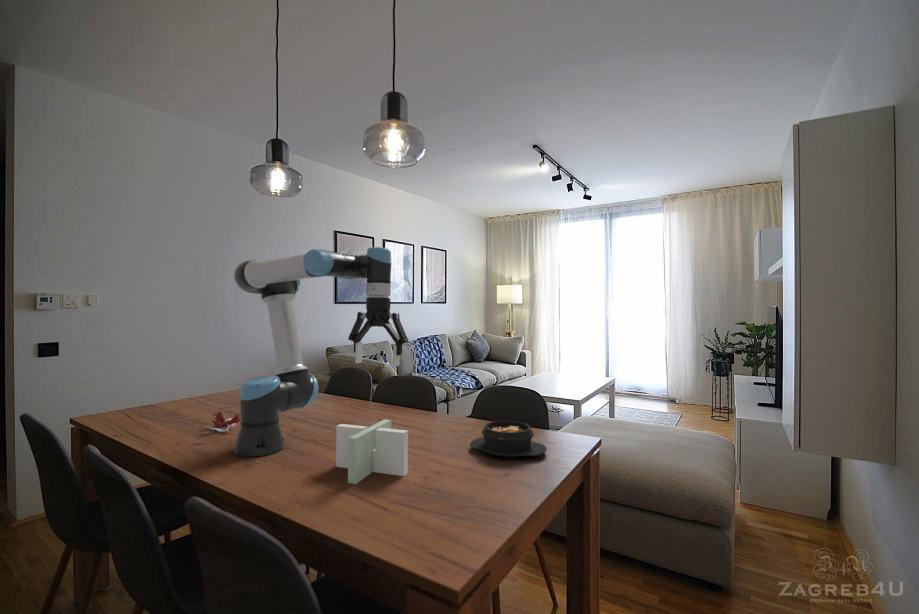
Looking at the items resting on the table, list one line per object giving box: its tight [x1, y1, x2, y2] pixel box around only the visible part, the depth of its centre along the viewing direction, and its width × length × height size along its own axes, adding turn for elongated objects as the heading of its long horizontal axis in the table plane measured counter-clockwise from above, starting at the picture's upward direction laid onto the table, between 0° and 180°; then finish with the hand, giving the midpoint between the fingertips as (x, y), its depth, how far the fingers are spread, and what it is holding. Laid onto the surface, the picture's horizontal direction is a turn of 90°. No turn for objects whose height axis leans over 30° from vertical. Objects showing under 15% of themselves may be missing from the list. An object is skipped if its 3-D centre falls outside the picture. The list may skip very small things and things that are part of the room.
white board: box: [335, 423, 409, 477], centre depth 121 cm, size 22×2×12 cm, turn 72°
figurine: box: [207, 410, 241, 433], centre depth 160 cm, size 15×12×7 cm
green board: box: [347, 418, 392, 485], centre depth 121 cm, size 20×2×12 cm, turn 162°
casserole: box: [469, 420, 547, 458], centre depth 137 cm, size 25×19×8 cm
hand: (377, 364), depth 132 cm, fingers open, 13 cm apart
